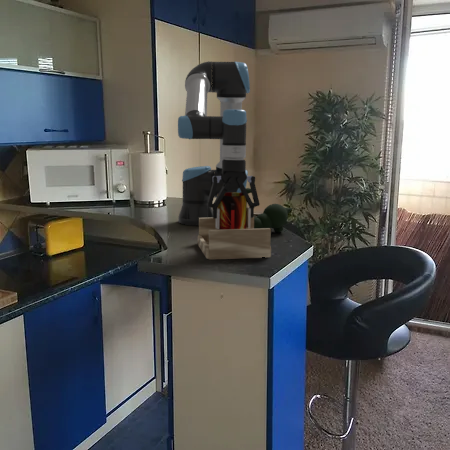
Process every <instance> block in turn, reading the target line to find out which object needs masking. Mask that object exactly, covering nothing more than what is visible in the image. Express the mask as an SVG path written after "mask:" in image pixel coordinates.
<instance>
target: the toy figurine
mask: <svg viewBox="0 0 450 450" xmlns="http://www.w3.org/2000/svg"><path fill="white" fill-rule="evenodd" d="M245 189H246V191H247V193H248V195H250V194H252V192H251V188H249V187H246V188H245ZM241 193H242V192H241ZM292 210H293V208H292V207H284V205H282V204H280V203H272V204H269V205H267V206H266V207H265V208H264V210H263V212H262V213H260V214H258V215H256V217H254V216H253V217H254V229H261V228H270V229H271V231H272V229H273V231H274V232H276V233H281V232H283V231H284V226H285V225H287V224H288V215H289V213H290V212H291V211H292Z"/></svg>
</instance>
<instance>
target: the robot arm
mask: <svg viewBox="0 0 450 450" xmlns="http://www.w3.org/2000/svg"><path fill="white" fill-rule="evenodd" d="M249 74H250V73H249V69H248V65H247V63H245V62H243V61H242V62H241V61H204V62H200V63H199V64H197V65H195V66H194V67H193V68H192V69H191V70H190V71H189V72H188V74H187V75H186V77H185V80H184V89H185V91H186V99H185V111H184V112H185V113H184V115H180V116H179V117H178V118H177V135H178V137H179V138H180V139H184V140H187V139H188V140H219V162H217V164H216V165H215V169H212V167H211V166H210V165H203V166H193V167H188V168H186V169H183V172H182V180H181V182H182V205H181V209H180V211H179V215H178V217H177V218H178V220H177V221H178V224H180V223H181V224H180V225H184V224H185V225H186V226H199V218H214V219H215V218H216V229H219V213H220V209H219V208H217V207H218V205H219V203H220V202H221V200H222V198H223V196H224V194H225V193H228V192H235V193H241V192H242V194H243V195H245V197H246V200H247V205H248V207H247V217H246V227H247V228H250V226H251V218H253V217H254V215H255V213H254V212H255V210H254V209H255V208H256V207H260V205H261V204H260V200H259V195H258V191H257V187H256V183H255V182H256V176H255V175H248V170H247V168H246V165H247V162H246V157H247V151H246V150H247V143H246V142H247V122H248V119H247V111H246V110H245V109H243V102H244V100H245V99H246V98H247V94H249V93H250V92H251V89H250V88H251V87H250V86H251V85H250V84H251V83H250V75H249ZM209 93H216V99H218V101H219V102H220V104H219V105H220V108H219V109H220V112H219V114H220V115H218V116H214V115H213V116H211V115H209V116H208V94H209ZM247 182H248V183H249V187H250V189H251V192H252V193H251V195H252V199H251V197H250V194H248V193H247V191H246V189H245V188H247ZM217 194H218V196H217ZM252 200H253V201H252Z"/></svg>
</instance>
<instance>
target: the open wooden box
mask: <svg viewBox="0 0 450 450" xmlns="http://www.w3.org/2000/svg"><path fill="white" fill-rule="evenodd" d="M271 229H272V228H271ZM271 229H270V228H261V229H254V216H253V218H251V226H250V228H247V227H246V229H223V230H217V229H216V218H215V219H214V218H199V225H198V235H197V245H198V247H199V249H200V250H201V252H202V254H203V255H204V256H205V258H206V259H208V260H209V261H210V260H228V259H229V260H231V259H235V260H236V259H262V257H265V258H271V257H272V247H271V234H272V230H271Z"/></svg>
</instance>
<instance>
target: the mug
mask: <svg viewBox="0 0 450 450" xmlns="http://www.w3.org/2000/svg"><path fill="white" fill-rule="evenodd" d="M217 196H218V194H217ZM247 205H248V203H247V200H246V197H245V195H243V194H242V193H235V192H228V193H225V194H224V196H223V198H222V200H221V202H220V203H219V205H218V207H217V208H219V209H220V213H219V229H217V230H223V229H246V217H247Z"/></svg>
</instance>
